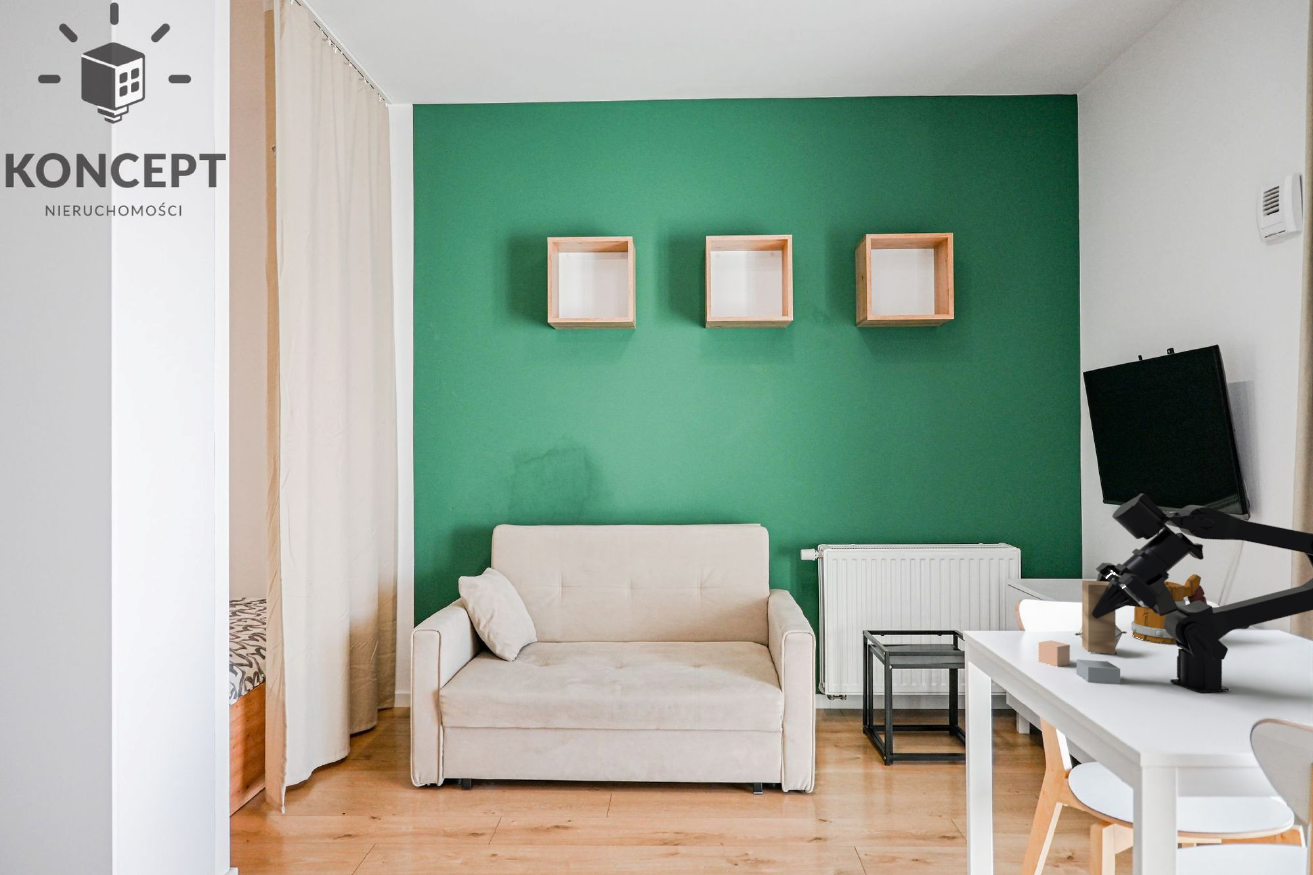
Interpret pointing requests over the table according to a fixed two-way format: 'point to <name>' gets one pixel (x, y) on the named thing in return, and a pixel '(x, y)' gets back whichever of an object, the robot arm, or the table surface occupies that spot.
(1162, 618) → the mug
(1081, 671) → the slate block
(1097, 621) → the walnut block
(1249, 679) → the table surface
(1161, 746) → the table surface
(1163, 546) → the robot arm
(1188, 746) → the table surface
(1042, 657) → the clay block
